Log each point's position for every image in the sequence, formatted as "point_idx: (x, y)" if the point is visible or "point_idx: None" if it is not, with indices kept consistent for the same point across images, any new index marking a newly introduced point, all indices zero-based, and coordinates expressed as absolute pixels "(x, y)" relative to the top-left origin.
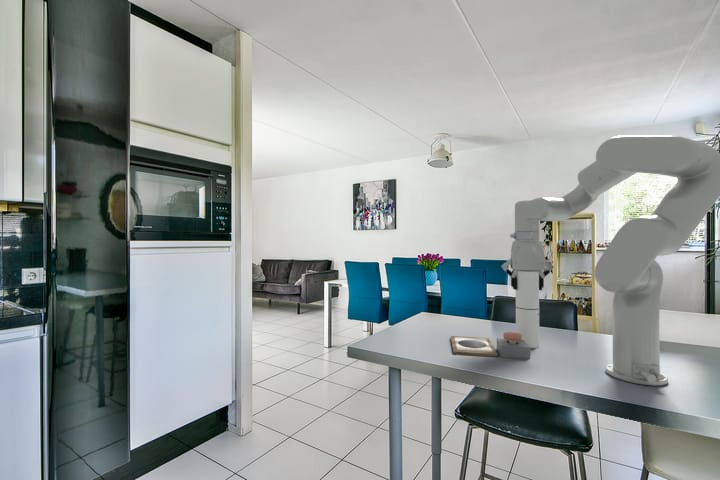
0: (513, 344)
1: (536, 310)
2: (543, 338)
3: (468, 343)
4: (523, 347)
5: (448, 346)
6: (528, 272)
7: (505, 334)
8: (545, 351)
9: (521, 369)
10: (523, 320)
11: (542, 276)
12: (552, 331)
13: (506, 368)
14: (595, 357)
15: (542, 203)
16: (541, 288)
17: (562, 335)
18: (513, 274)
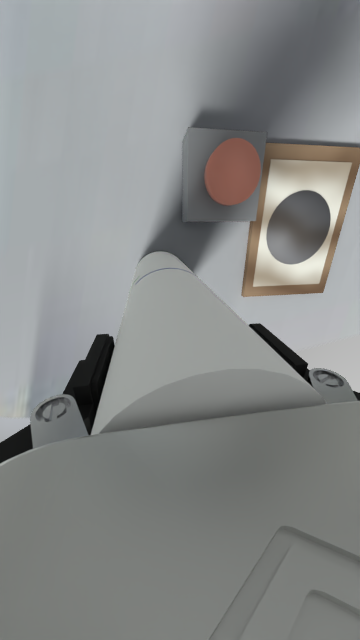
0: None
1: (141, 276)
2: None
3: (306, 230)
4: (206, 128)
5: (346, 219)
6: (241, 362)
7: (257, 166)
8: (128, 227)
9: (230, 14)
10: (185, 266)
11: (60, 410)
12: None
13: (268, 19)
14: (3, 195)
15: None
16: (99, 337)
17: (64, 378)
18: (339, 388)
